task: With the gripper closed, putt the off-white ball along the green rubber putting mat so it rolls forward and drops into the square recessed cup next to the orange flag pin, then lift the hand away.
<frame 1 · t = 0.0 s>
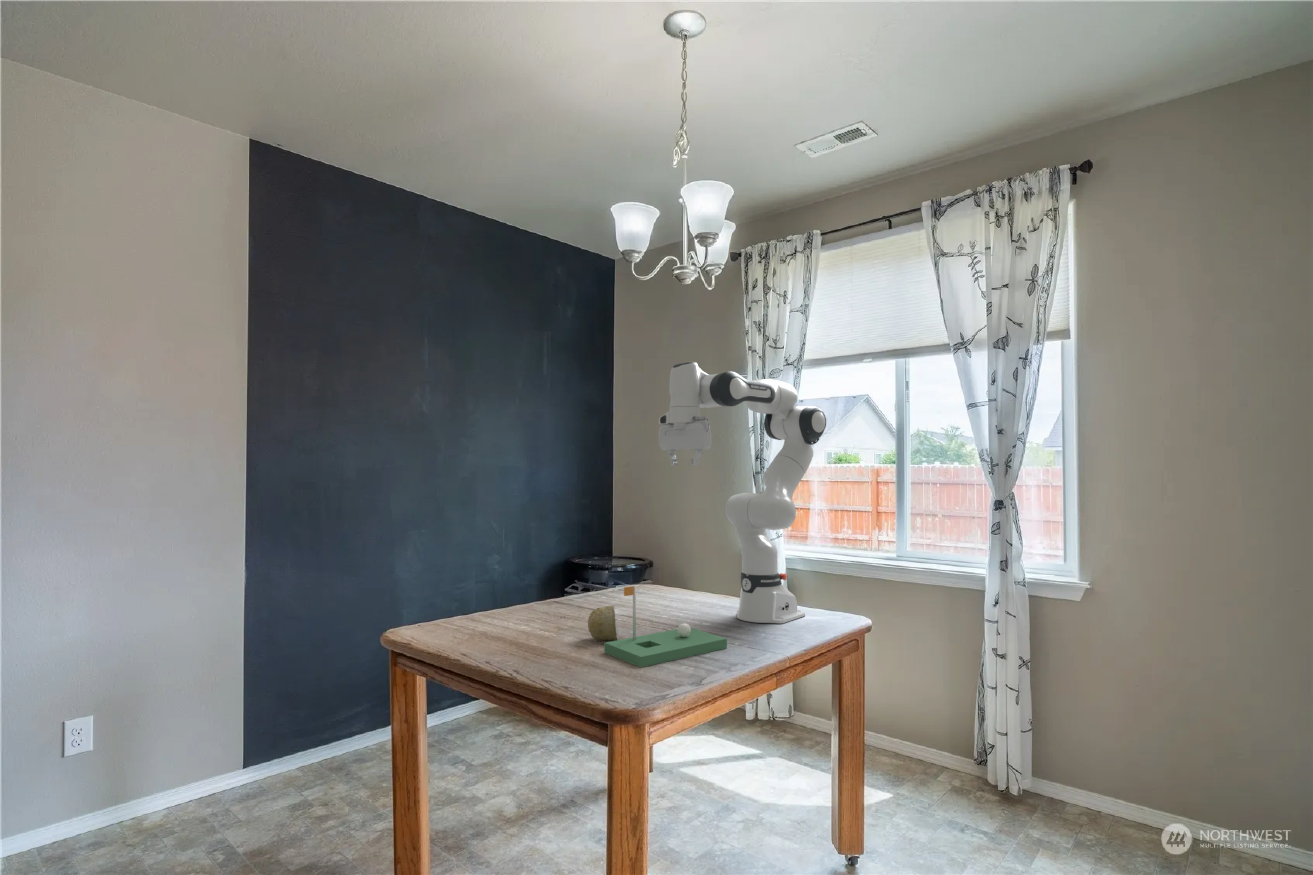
hand: (684, 465, 199), 48 cm above the table, fingers open, 8 cm apart
ball: (684, 630, 183), point 4 cm above the table, touching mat
coral: (603, 640, 190), on the table
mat: (666, 650, 180), on the table
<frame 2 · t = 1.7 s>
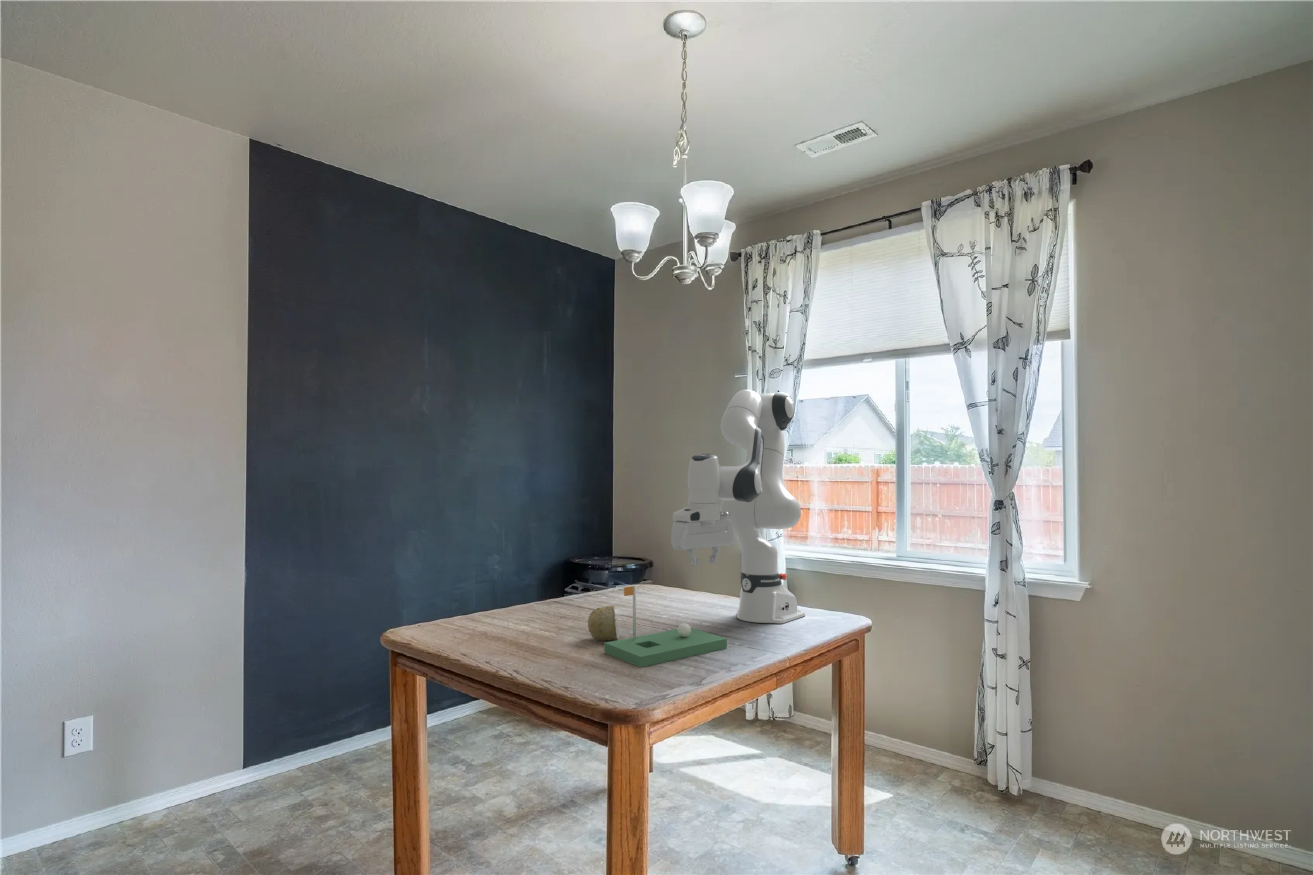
hand: (703, 564, 188), 21 cm above the table, fingers open, 5 cm apart
nothing on the table moved.
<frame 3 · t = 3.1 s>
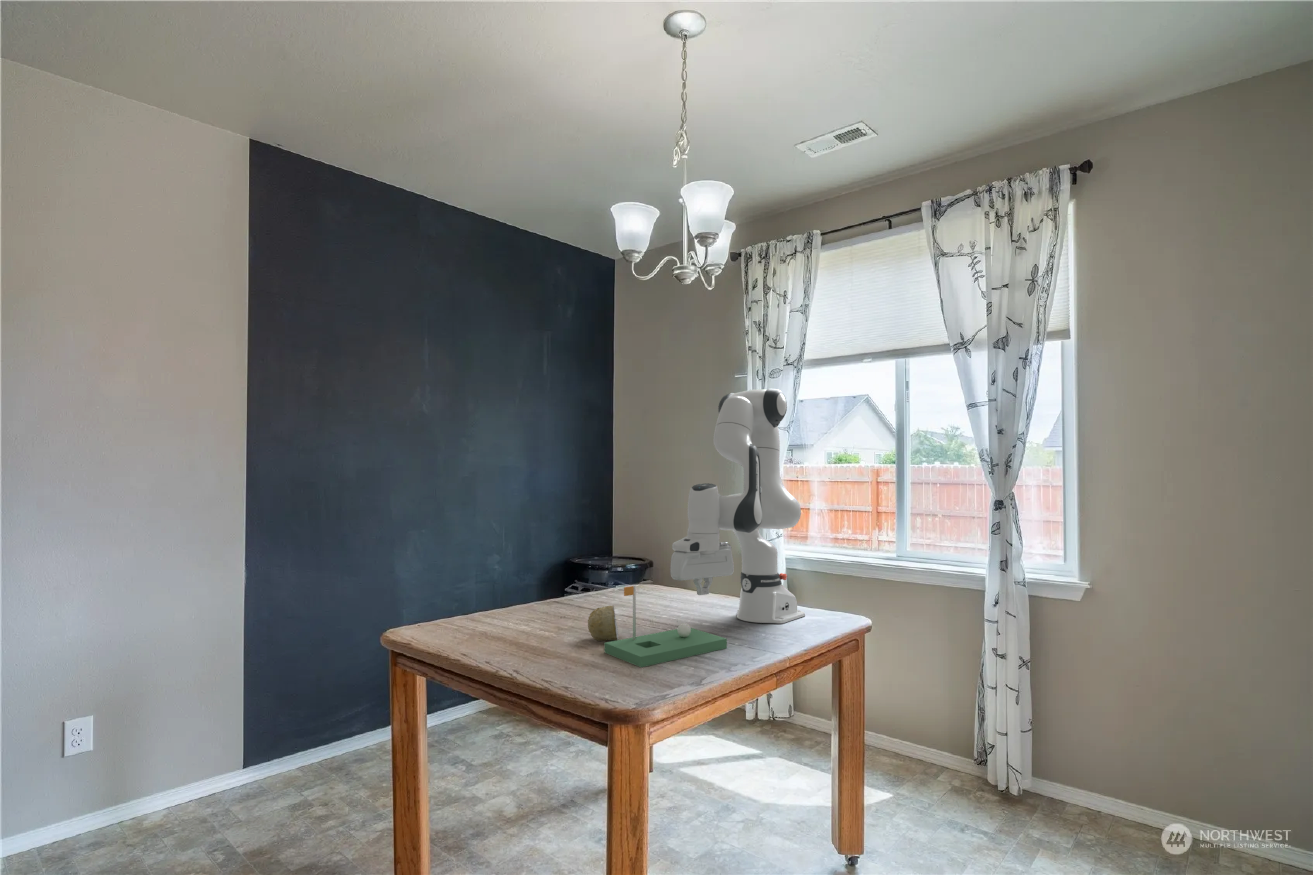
hand: (702, 594, 187), 13 cm above the table, fingers closed
nothing on the table moved.
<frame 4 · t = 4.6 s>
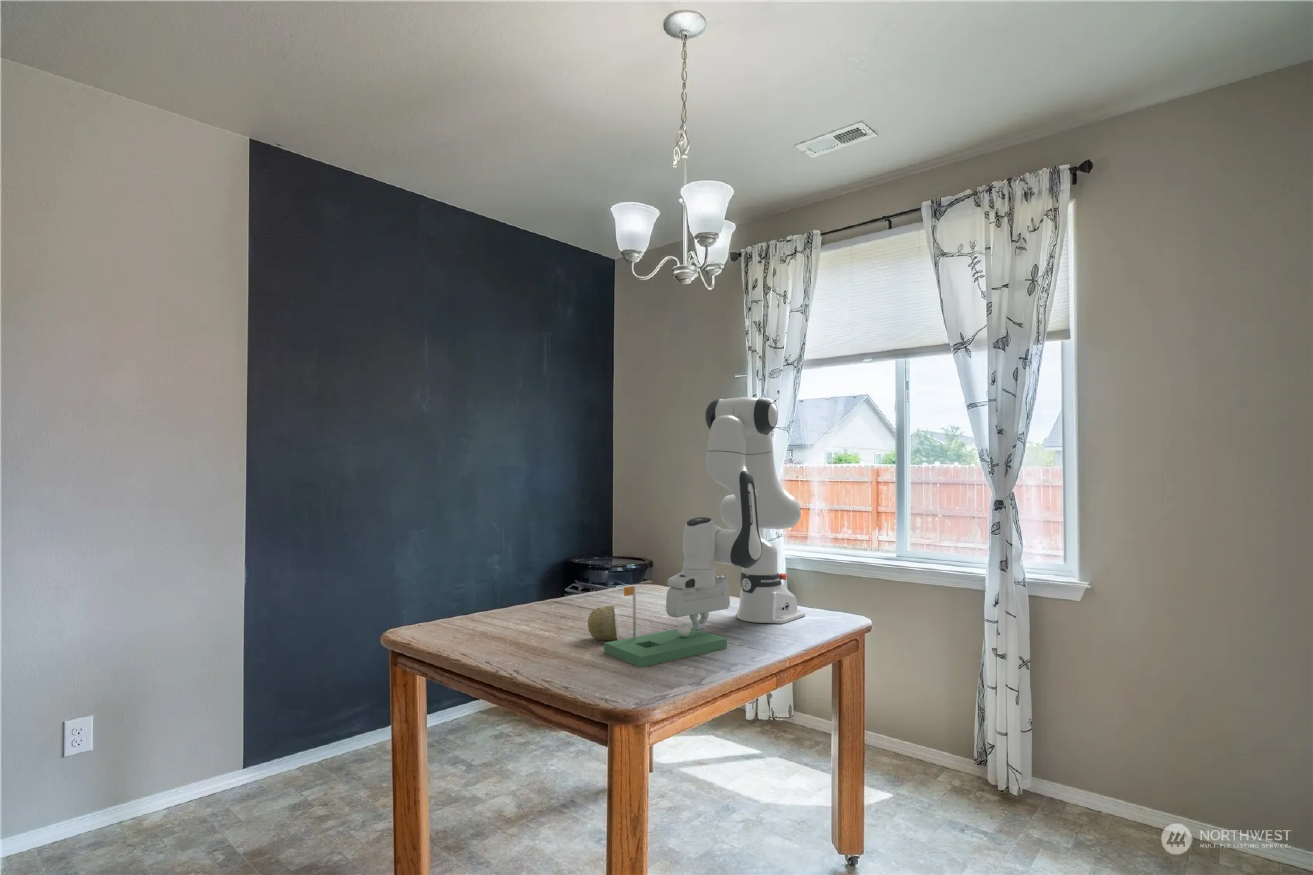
hand: (699, 629, 186), 4 cm above the table, fingers closed
nothing on the table moved.
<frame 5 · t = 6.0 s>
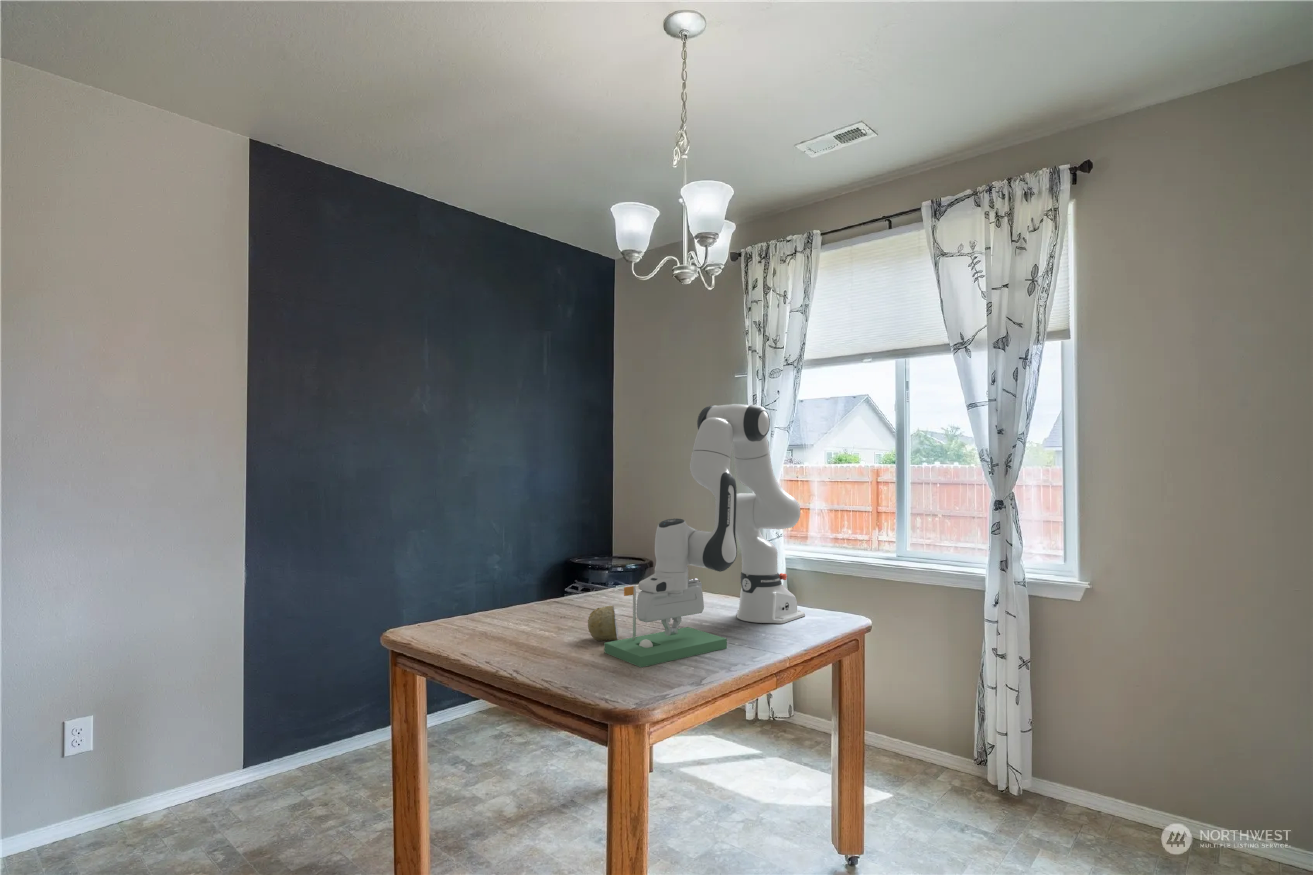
hand: (671, 634, 181), 4 cm above the table, fingers closed
ball: (645, 646, 176), point 2 cm above the table, tilted 62°, touching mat
everything else where it was.
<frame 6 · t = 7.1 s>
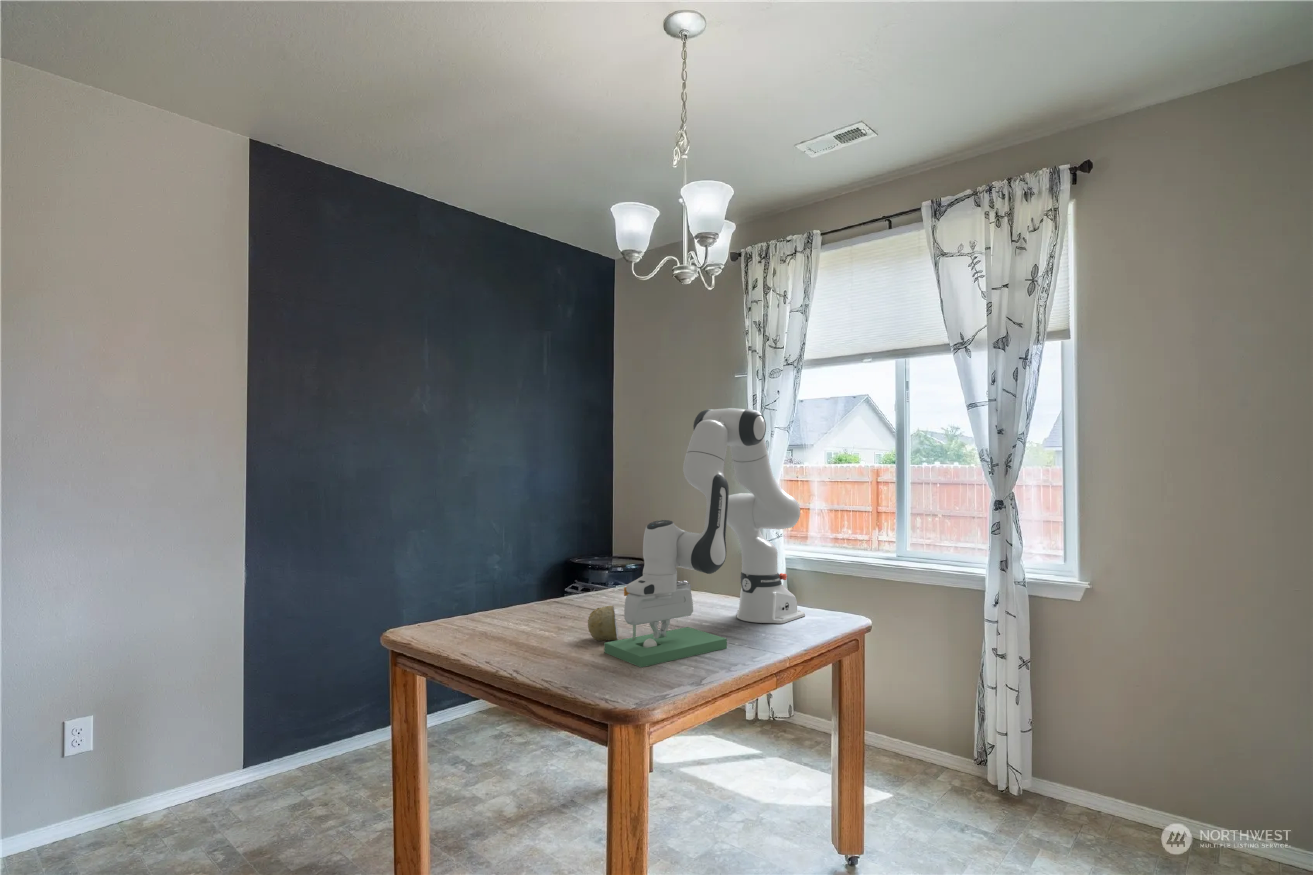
hand: (659, 637, 178), 4 cm above the table, fingers closed
ball: (650, 645, 176), point 2 cm above the table, tilted 22°, touching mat
everything else where it was.
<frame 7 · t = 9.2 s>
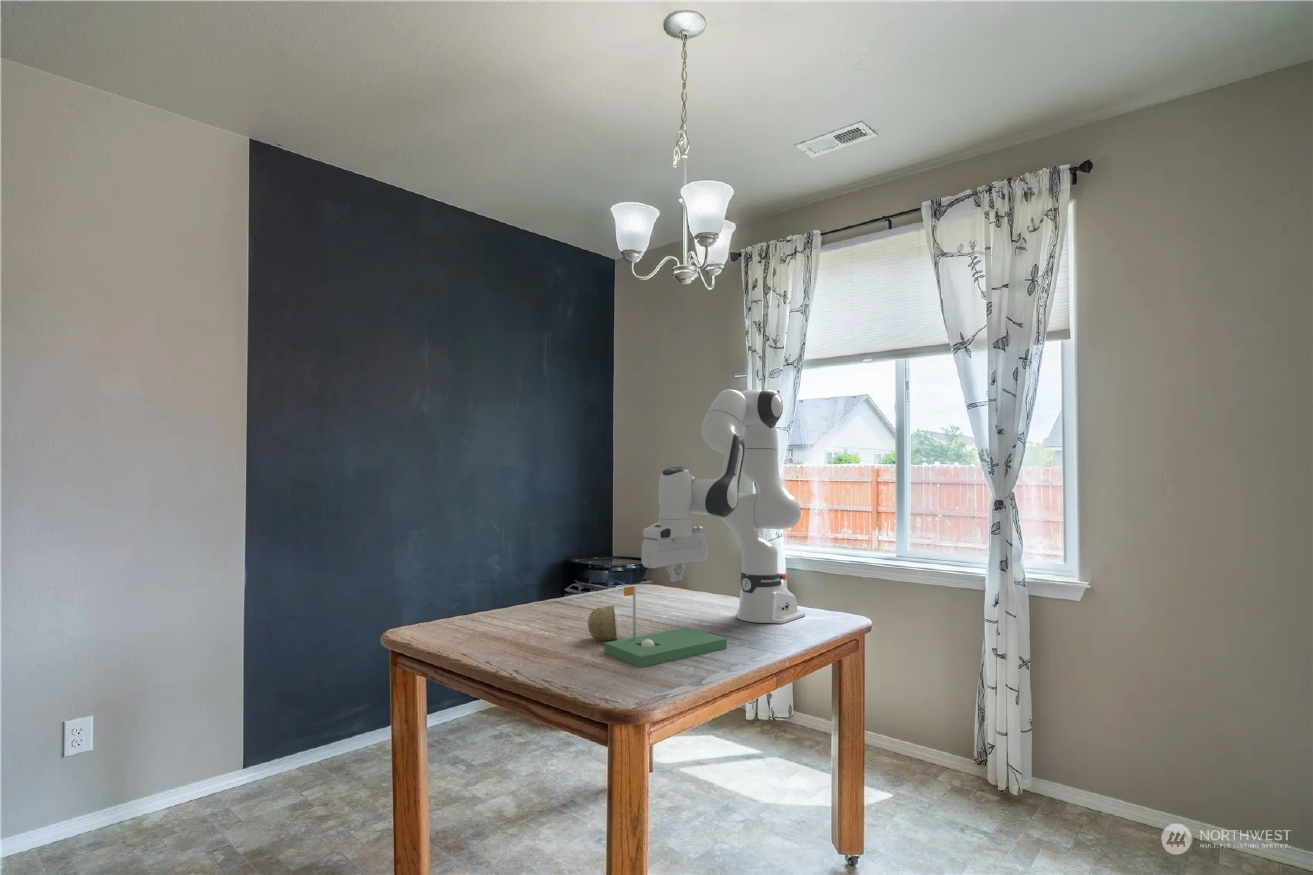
hand: (676, 581, 182), 18 cm above the table, fingers closed
ball: (647, 646, 176), point 2 cm above the table, tilted 45°, touching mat
everything else where it was.
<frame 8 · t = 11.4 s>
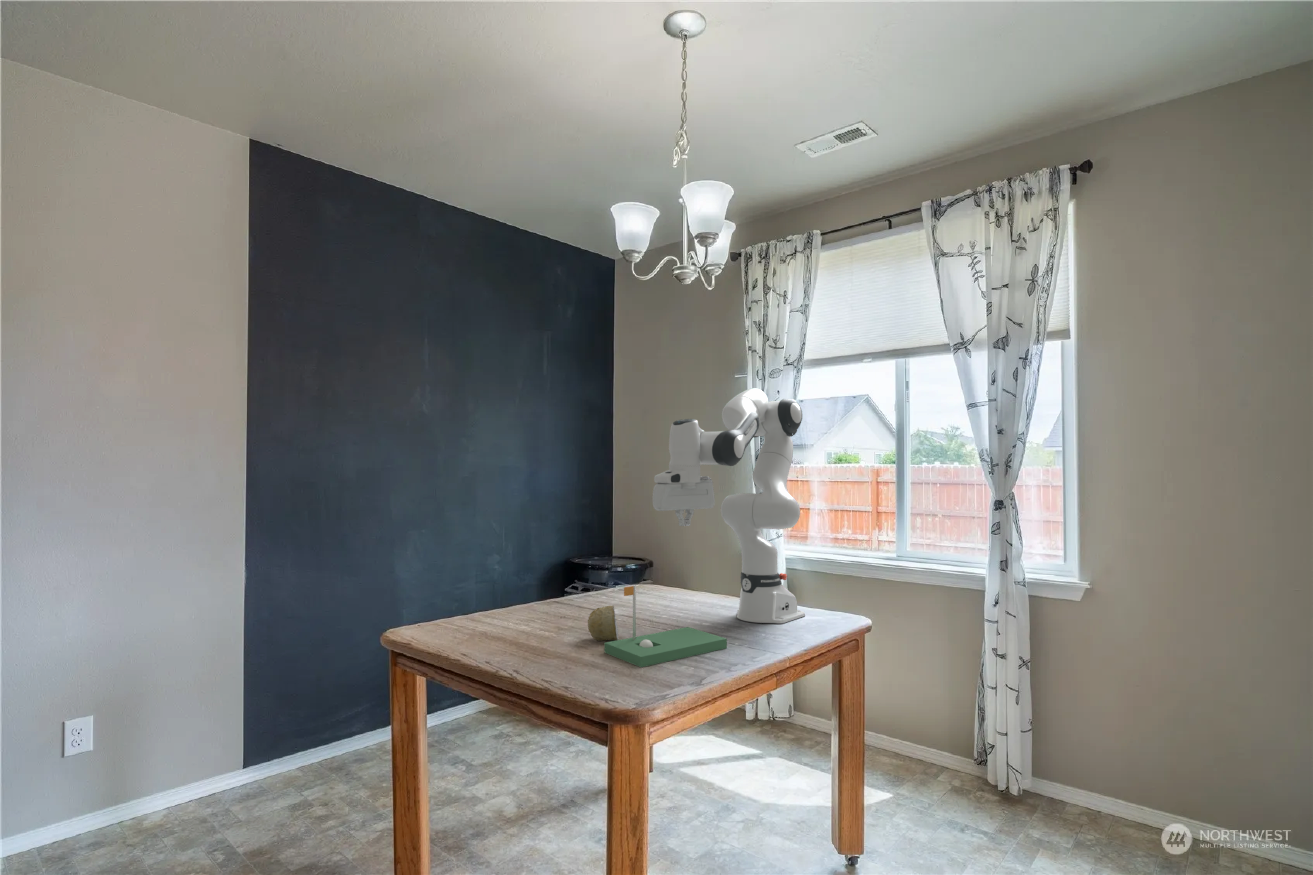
hand: (684, 525, 193), 31 cm above the table, fingers closed
ball: (646, 646, 176), point 2 cm above the table, tilted 63°, touching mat
everything else where it was.
at the end: ball 0.6 cm from the target spot on the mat, point 2.0 cm above the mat's base; ball point 2.0 cm above the table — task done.
